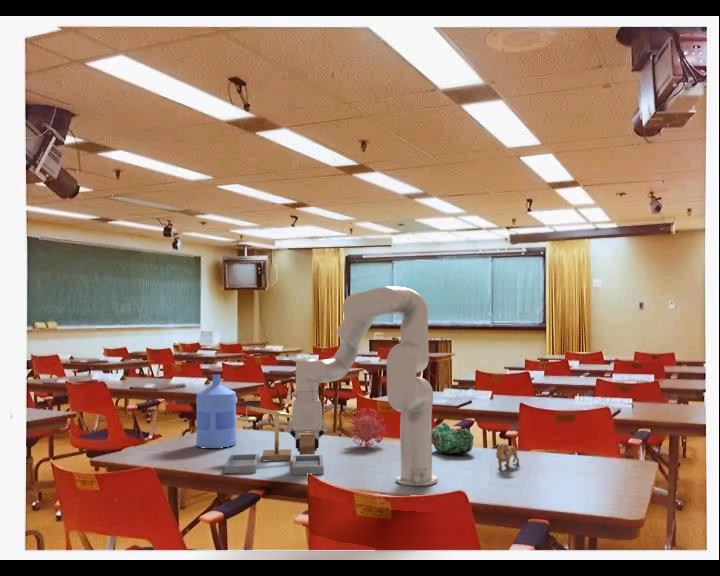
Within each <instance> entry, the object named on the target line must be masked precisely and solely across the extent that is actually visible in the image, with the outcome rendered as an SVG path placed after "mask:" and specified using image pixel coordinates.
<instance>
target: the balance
mask: <svg viewBox="0 0 720 576" xmlns="http://www.w3.org/2000/svg"><path fill="white" fill-rule="evenodd" d="M248 411H252V412H257V413H263V414H267V415H273V416H274V449H264V450H263V452H262V453H261V454H262V455H261V461H262V460H291V459H292V449H291V448H290V449H288V448H287V449H286V448H285V449H280V417H285V418H288V419H292V413H287V412H283V411H282V412H281V411H279V410H278V409H276V410H275V409H274V410H271V409H268V408H267V409H266V408H262V407H261V408H260V407H256V406H251V405H246V407H245V416H240V417H236V422H251V421H252V422H253V421H256V420H257V417H256V416H248ZM300 433H301V434H310V433H314V431H300Z"/></svg>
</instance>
